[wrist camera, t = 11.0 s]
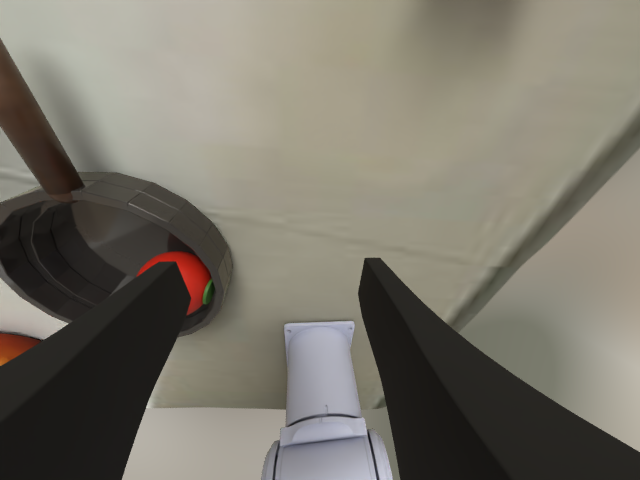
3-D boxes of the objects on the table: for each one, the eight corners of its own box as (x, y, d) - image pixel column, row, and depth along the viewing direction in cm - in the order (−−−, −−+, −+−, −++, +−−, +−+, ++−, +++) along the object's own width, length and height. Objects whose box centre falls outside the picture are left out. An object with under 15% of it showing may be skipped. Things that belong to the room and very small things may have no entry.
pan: (244, 305, 24) (237, 336, 21) (97, 310, 23) (68, 344, 20) (213, 170, 16) (194, 191, 13) (-18, 167, 15) (-93, 190, 12)
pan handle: (98, 196, 14) (78, 208, 13) (70, 195, 14) (47, 208, 13) (-34, -44, 9) (-92, -64, 7) (-83, -47, 9) (-151, -69, 7)
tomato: (166, 270, 21) (223, 282, 22) (128, 323, 17) (199, 336, 18) (153, 230, 18) (222, 247, 18) (103, 286, 14) (192, 304, 15)
